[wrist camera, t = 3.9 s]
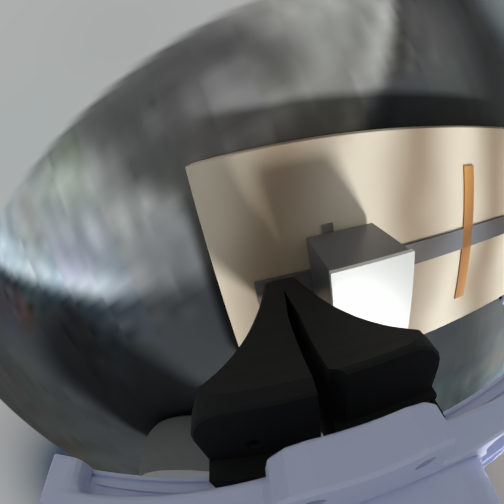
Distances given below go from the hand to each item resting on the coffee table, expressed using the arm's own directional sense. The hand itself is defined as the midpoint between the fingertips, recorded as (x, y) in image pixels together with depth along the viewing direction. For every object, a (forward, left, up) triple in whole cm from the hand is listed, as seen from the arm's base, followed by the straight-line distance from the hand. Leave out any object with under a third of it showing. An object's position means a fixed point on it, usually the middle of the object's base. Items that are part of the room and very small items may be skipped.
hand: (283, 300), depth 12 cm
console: (-7, 0, -3) cm, 8 cm away
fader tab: (-3, 0, -1) cm, 3 cm away
